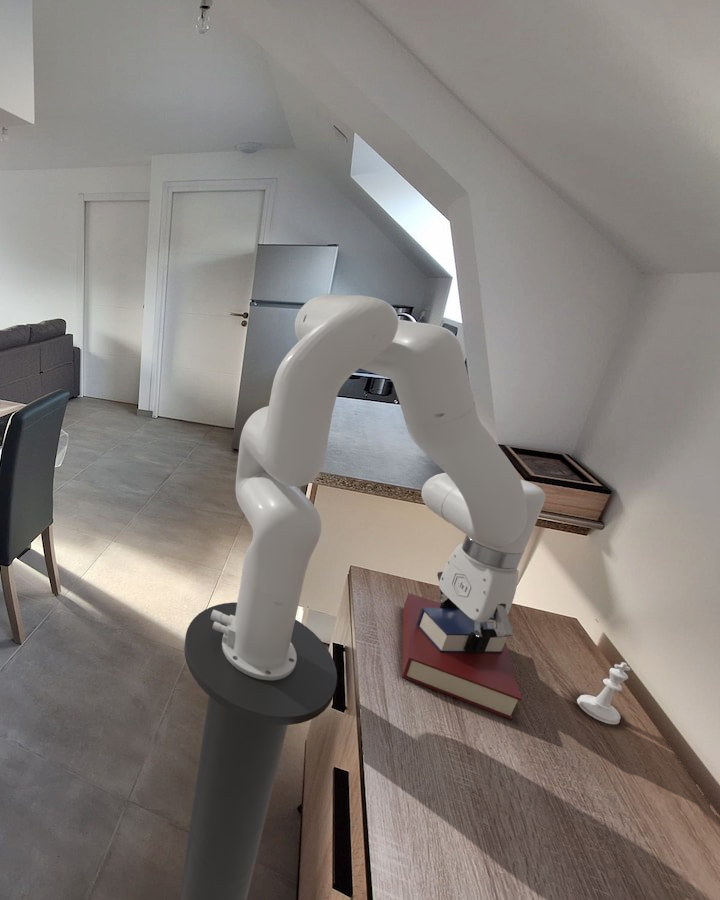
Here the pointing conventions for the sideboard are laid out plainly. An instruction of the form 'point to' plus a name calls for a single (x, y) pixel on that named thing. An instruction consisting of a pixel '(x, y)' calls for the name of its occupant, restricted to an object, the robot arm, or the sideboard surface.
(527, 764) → the sideboard surface
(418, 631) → the hardback
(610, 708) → the chess piece
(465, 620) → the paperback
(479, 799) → the sideboard surface
